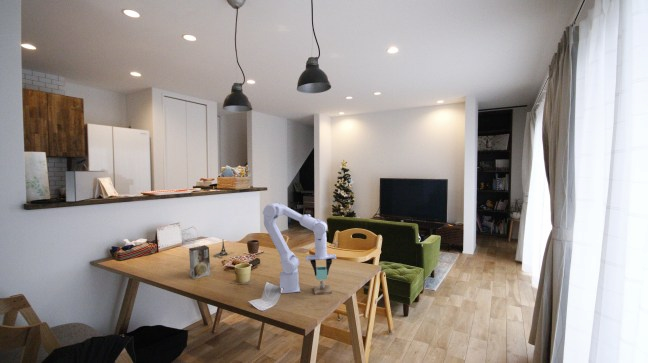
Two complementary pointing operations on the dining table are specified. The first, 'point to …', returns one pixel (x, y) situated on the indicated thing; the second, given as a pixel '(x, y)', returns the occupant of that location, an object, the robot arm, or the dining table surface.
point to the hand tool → (255, 261)
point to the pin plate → (322, 289)
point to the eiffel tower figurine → (221, 252)
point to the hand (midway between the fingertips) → (321, 274)
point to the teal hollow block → (321, 273)
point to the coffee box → (199, 261)
